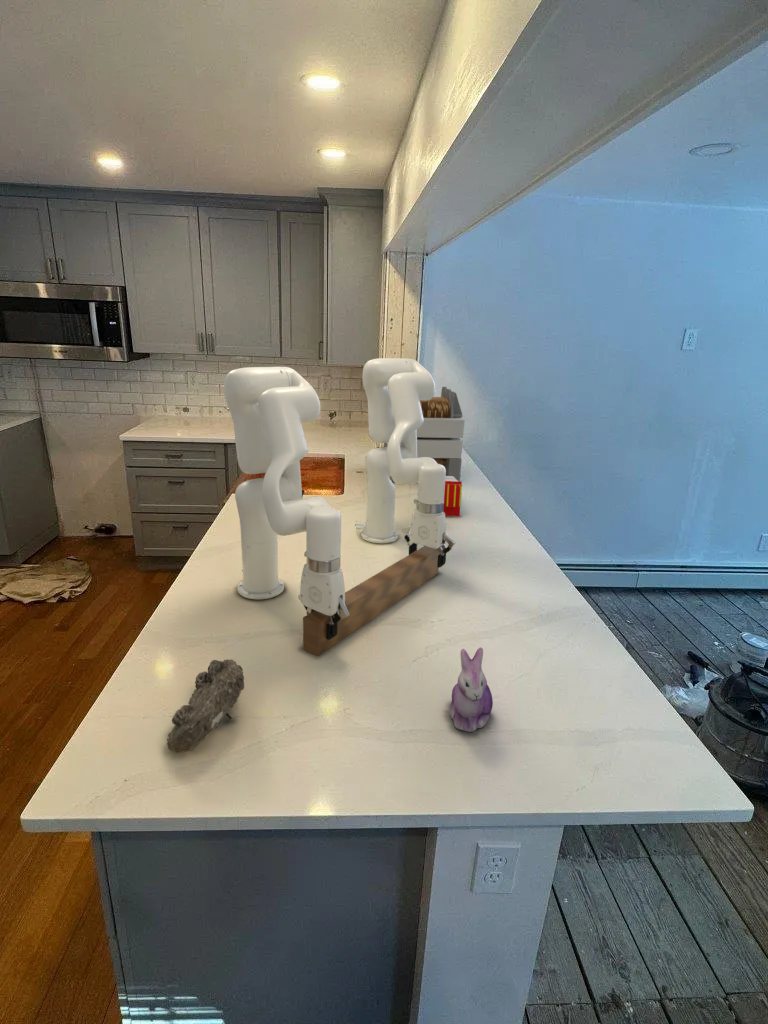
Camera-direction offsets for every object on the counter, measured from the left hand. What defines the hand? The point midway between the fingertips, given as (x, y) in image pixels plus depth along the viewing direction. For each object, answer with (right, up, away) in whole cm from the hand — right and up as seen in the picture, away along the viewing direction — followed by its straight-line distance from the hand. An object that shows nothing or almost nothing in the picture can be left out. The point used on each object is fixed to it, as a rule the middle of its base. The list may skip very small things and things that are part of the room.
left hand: (323, 632), depth 132 cm
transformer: (+31, +47, +143) cm, 154 cm away
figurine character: (-20, +28, +83) cm, 90 cm away
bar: (+13, +3, +19) cm, 23 cm away
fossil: (-19, -11, -24) cm, 32 cm away
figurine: (+31, -12, -21) cm, 39 cm away
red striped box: (+38, +31, +100) cm, 112 cm away
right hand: (+27, +13, +36) cm, 46 cm away
